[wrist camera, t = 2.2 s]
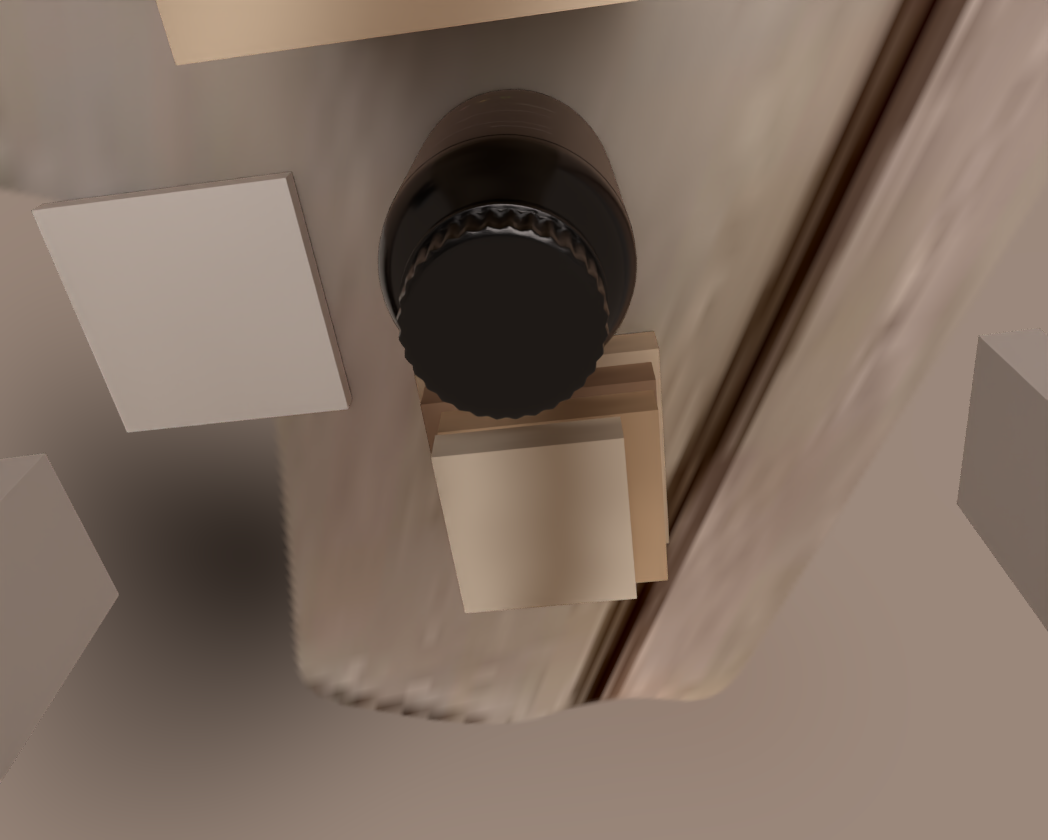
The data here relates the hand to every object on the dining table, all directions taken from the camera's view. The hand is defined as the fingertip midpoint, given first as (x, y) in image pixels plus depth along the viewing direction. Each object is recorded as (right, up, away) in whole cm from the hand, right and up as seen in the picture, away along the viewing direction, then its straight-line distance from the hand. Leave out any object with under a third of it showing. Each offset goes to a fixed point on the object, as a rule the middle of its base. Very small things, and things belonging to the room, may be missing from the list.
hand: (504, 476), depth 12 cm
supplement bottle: (0, +9, +17) cm, 19 cm away
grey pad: (-12, +5, +19) cm, 23 cm away
